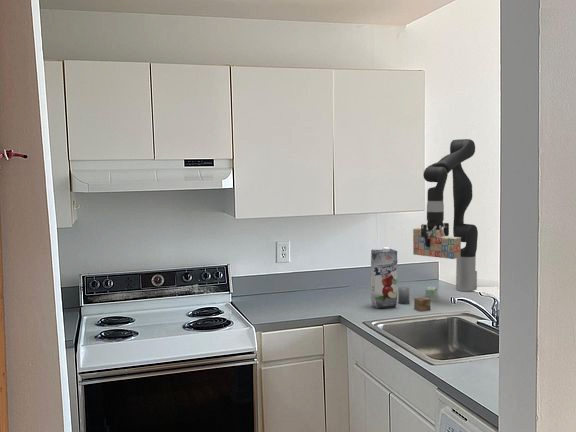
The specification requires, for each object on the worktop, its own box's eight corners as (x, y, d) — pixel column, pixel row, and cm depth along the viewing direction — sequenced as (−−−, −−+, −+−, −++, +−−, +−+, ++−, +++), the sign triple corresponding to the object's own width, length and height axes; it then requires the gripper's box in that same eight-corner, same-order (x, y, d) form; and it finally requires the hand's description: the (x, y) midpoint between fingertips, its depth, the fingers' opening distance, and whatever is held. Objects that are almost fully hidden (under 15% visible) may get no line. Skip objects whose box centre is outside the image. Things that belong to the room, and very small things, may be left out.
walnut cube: (423, 308, 266) (423, 296, 266) (430, 310, 262) (430, 299, 261) (414, 309, 264) (414, 298, 264) (421, 311, 260) (421, 300, 259)
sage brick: (428, 294, 294) (428, 286, 293) (437, 295, 292) (437, 287, 292) (425, 297, 286) (425, 289, 286) (434, 298, 285) (434, 290, 284)
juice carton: (368, 305, 272) (369, 246, 269) (389, 303, 275) (390, 245, 272) (377, 309, 263) (377, 248, 261) (399, 307, 266) (399, 247, 264)
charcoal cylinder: (405, 301, 279) (405, 286, 278) (411, 303, 274) (411, 288, 274) (396, 302, 277) (396, 287, 276) (402, 304, 272) (402, 289, 272)
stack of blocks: (460, 257, 270) (461, 230, 269) (453, 259, 265) (453, 231, 264) (420, 253, 285) (420, 227, 284) (412, 254, 281) (412, 228, 280)
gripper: (442, 209, 280) (442, 244, 282) (417, 210, 274) (417, 246, 276) (453, 210, 273) (452, 246, 275) (427, 211, 268) (427, 248, 269)
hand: (434, 246), depth 275 cm, fingers closed on stack of blocks, 7 cm apart
